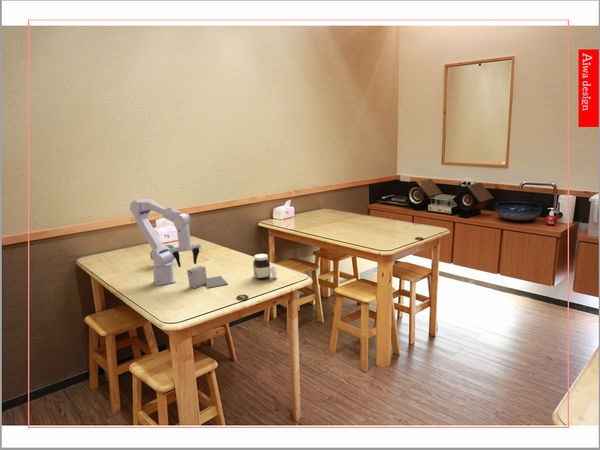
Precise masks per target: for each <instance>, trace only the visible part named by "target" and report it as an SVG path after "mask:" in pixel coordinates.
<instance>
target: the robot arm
mask: <svg viewBox="0 0 600 450" xmlns="http://www.w3.org/2000/svg"><path fill="white" fill-rule="evenodd" d="M129 205H130V206H129V210H130V212H131V214H132V215H133V218H134V220H135V222H136V224H137V226H138V228H139V229H140V231H141V232H142V234H143V236H144V237H145V239H146V241H147V242H148V244H149V245H150V246H149V247H150V248H151V249H152V250H153V251H152V254H151V253H150V257H151V256H152V258H153V260H152V262H153V264H154V265H155V266H152V272H153V282H154V283H155V285H156V286H163V285H164V286H165V285H169V284H173V283H176V282H177V281H176V279H175V278H174V270H173V263H174V261H176V264H177V266H178V268H181V260H180V253H181V252H182V253H183V252H187V251H192V258H193V264H194V265H197V261H198V256H199V253H200V249H201V248H202V245H201V244H200V243H199V244H192V241H191V234H190V233H191V232H190V223H191V221H192V220H191V216H190V214H188V212H181V211H180V210H175V209H174V208H173V207H172V206H170V207H168V206H167V207H164V206H162V205H161V204H159V203H157V202H155V201H154V200H153V199H152V198H149V197H144V198H141V199H137V200H132V201H131V202H130V204H129ZM151 211H152V212H155V213H157V214H160V215H162V218H164V219H166V220H167V221H169V222H172V223H173V225H174V226H175V229H176V231H177V232H176V233H177V242H178V247H175V248H173V249H169V247H167V246H165V245H166V244H163V242H162V241H161V238H160V237H159V235H158V234H157V233H156V230H155V229H154V227H153V226H152V224H151V222H150V221H149V219H148V216H149V215H150V213H151ZM178 252H179V253H178ZM159 253H160V254H159Z"/></svg>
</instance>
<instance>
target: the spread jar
mask: <svg viewBox="0 0 600 450" xmlns="http://www.w3.org/2000/svg"><path fill="white" fill-rule="evenodd" d="M253 258H254V260H253V262H252V268H253V277H254V279H255V280H257V281H265V280H268V279H269V278H270V277H271V275H272V277H273V279H277V278H278V276H279V275H278V272H277V268H276V266H275V265H274V264H272V265H271V263H270V261H269V255H268V254H267V253H266V254H265V253H259V254H258V253H257V254H254V257H253Z"/></svg>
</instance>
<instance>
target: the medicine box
mask: <svg viewBox="0 0 600 450" xmlns="http://www.w3.org/2000/svg"><path fill="white" fill-rule="evenodd" d="M206 270H207V269H206V266H203V265H197V266H194V267H192V268H190V269H188V270H187V269H186V272H187V279H188V284H189V288H193V289H197V288H198V287H201V286H203V285H205V283H207V278H208V276H207V271H206Z"/></svg>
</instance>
